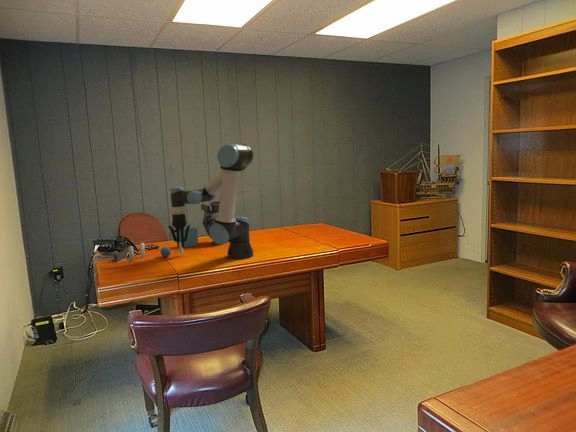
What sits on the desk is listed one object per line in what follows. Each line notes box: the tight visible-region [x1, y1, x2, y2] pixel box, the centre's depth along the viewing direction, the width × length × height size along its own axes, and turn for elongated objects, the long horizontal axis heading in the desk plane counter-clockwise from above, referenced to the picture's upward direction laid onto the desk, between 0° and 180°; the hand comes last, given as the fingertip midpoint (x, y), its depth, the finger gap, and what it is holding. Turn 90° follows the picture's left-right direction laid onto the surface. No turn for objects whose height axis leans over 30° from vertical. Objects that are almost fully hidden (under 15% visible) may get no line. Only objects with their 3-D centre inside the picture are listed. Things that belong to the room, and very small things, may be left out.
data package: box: [179, 226, 199, 248], centre depth 281 cm, size 12×4×12 cm, turn 119°
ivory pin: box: [139, 242, 146, 259], centre depth 253 cm, size 2×2×8 cm
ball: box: [160, 246, 172, 258], centre depth 252 cm, size 6×6×6 cm
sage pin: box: [128, 245, 135, 263], centre depth 244 cm, size 2×2×8 cm
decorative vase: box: [200, 201, 220, 245], centre depth 286 cm, size 21×19×28 cm
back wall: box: [113, 247, 129, 263], centre depth 254 cm, size 2×20×4 cm, turn 177°
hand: (181, 252), depth 252 cm, fingers closed
